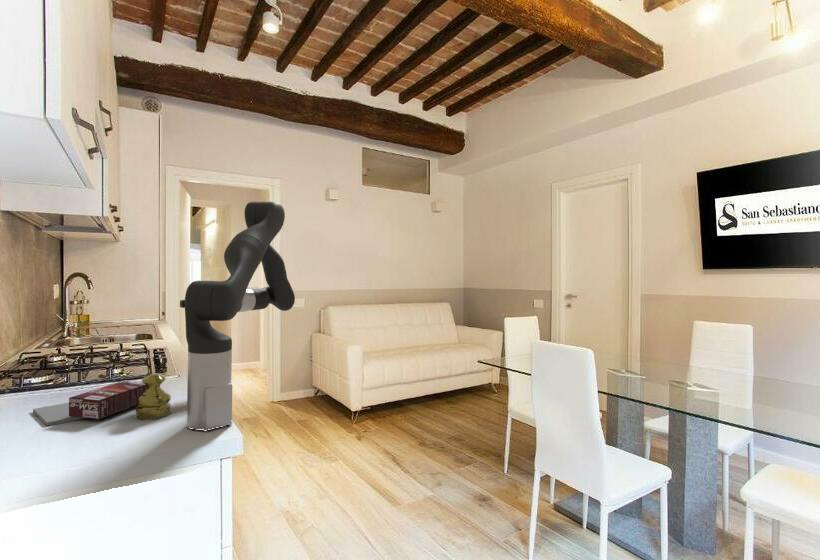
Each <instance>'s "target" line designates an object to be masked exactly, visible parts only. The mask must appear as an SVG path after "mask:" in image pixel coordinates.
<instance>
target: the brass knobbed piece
mask: <svg viewBox="0 0 820 560" xmlns="http://www.w3.org/2000/svg"><path fill="white" fill-rule="evenodd" d="M165 381H166V377H165V376H164V375H161V374H158V373H151V374H149V375H148V376H145V377H143V378H142V379H141V382H143V383H144V384H146V386H147V390H146V391H145V392H143V393H142V395H140V396H139V397H138V398H137V399H136V405H135V406H136V408H135V418H136V419H138V420H143V419H149V420H156V419H155V418H157V419H161V418H163V416H164V417H166V416H168V415H169V414H171V405H172V404H171V403H170V402H171V399H172V396H171V394H170V393H168V392H166V391H165V390H164V389H162V387H161V385H162V383H163V382H165ZM160 417H161V418H160Z"/></svg>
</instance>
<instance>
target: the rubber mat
mask: <svg viewBox="0 0 820 560" xmlns="http://www.w3.org/2000/svg"><path fill="white" fill-rule="evenodd" d="M126 410H129V408H127V409H124V410H123V411H126ZM32 412H33V414H34V415H35V416H36V417H37V418H38V419H40V421H41V422H42V423H45V424H46V425H47V426H46V425H45V424H44V425H45V426H46V427H49V426H48V425H50V426H53V425H54V424H55V425H59V423H60V424H65V423H69V422H74V421H78V420H84V419H88V418H87V417H78V416H69V402H65V403H59V404H53V405H48V406H41V407H37V408H32Z"/></svg>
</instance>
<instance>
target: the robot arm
mask: <svg viewBox="0 0 820 560" xmlns="http://www.w3.org/2000/svg"><path fill="white" fill-rule="evenodd" d="M243 213H244V220H245V224H246V227H247V228H246V229H243V230H241V231H240V232H239V233H237V234H236V235H235V236H234V237H233V238H232V239H231V240H230V242H229V243H228V245H227V247H226V248H225V250H224V253H223V259H224V264H225V266H226V269H227V271H228V272H229V275H230V276H229V277H228V278H227V279H225V280H195V281H192V282H191V283H190V284H189V285H188V286H187V288H186V290H185V291H186V292H185V296H184V299H181V300H180V301H179V307H180V308H182V309H184V317H185V340H186V343H187V387H186V388H187V393H186V394H187V395H186V396H187V397H186V398H187V401H186V403H187V405H186V406H187V407H186V409H187V411H186V412H187V414H186V415H187V416H186V427H187V426H188V427H190V428H193V429H204V430H208V429H212V428H216V427H221V426H225V427H227V426H226V425H229V426H231V425H232V424H233V384H232V367H233V366H232V360H233V359H232V358H233V355H232V354H233V340H232V337H231V336H229V335H228V334H225V333H222V332H220V331H218V330H217V329H215V328H214V327H213V326H212V325H211V322H224V321H230V320H232V319H234V318H235V316H236V315H237V313H242V312H243V313H245V312H249V311H258V310H265V309H266V308H268V306H269V305H273V306H274V307H275V308H276V309H278V310H280V311H283V312H286V311H290V310H291V309H292V308H293V307H294V305H295V303H296V302H295V301H296V298H295V297H296V296H295V292H294V289H293V287H292V285H291V283H290V281H289V279H288V275H287V270H286V269H287V268H286V265H285V262H284V259H283V257H282V256H281V255H280V253H279V252H278V251H277V250H276V249H275V247H273V246H272V242H273V241H274V239H275V238H276V236H277V235H278V234H279V232H280V231H281V229H282V228H283V226H284V224H285V219H286V216H285V215H286V214H285V208H284V207H283V205H282V204H281V203H279V202H276V201H249V202H248V203H246V205H245V207H244V212H243ZM260 264H261V265H262V268H263V273H264V278H265V281H266V284H267V285H268V286H265V287H262V288H250V289H249V288H248V287H249V284H250V283H251V280H252V278H253V277H254V274H255V272H256V270H257V269H258V267H259V266H260ZM231 420H232V421H231ZM188 427H187V428H188Z"/></svg>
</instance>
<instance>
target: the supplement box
mask: <svg viewBox="0 0 820 560" xmlns="http://www.w3.org/2000/svg"><path fill="white" fill-rule="evenodd" d="M146 390H147V386H146V384H144V383H143V382H142V381H132V380H121V381H118V382H115V383H112V384H109V385H105V386H102V387H100V388H96V389H93V390H89V391H87V392H86V391H85V392H83V393H80V394H77V395H74V396H70V397H69V398H68V403H69V416H78V417H87V418H86V419H89V418H90V419H96V420H101V419H103V418H107V417H109V416H112V415H114V414H116V413H119V412H121V411H125V410H124V409H127V408H132V407H135V406H137V405H136V399H137V398H138V397H139V396H140V395H142V393H143V392H145V391H146ZM127 410H128V409H127Z"/></svg>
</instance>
